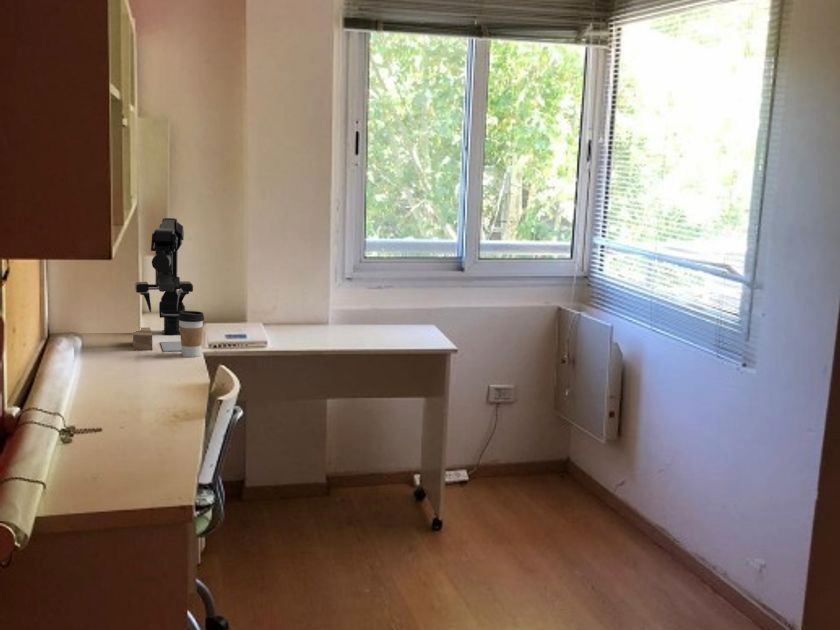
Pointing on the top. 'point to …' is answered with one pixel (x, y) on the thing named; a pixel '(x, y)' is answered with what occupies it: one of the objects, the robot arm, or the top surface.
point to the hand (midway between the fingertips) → (164, 311)
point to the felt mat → (171, 346)
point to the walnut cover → (142, 339)
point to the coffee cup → (191, 332)
